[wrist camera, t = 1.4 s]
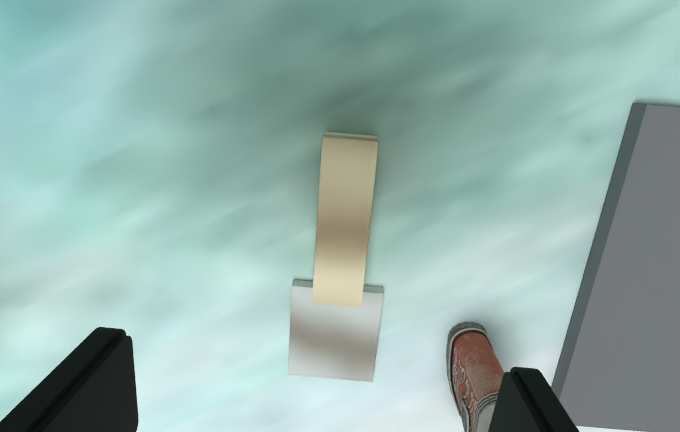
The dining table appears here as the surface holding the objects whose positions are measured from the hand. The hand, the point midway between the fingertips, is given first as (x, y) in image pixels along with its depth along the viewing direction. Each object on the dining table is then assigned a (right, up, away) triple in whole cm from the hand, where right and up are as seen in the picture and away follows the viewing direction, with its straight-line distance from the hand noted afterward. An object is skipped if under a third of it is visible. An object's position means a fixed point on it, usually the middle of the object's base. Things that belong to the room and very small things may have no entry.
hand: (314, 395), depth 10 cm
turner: (+1, +2, +17) cm, 17 cm away
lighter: (+10, -7, +19) cm, 23 cm away
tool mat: (+22, 0, +17) cm, 27 cm away
